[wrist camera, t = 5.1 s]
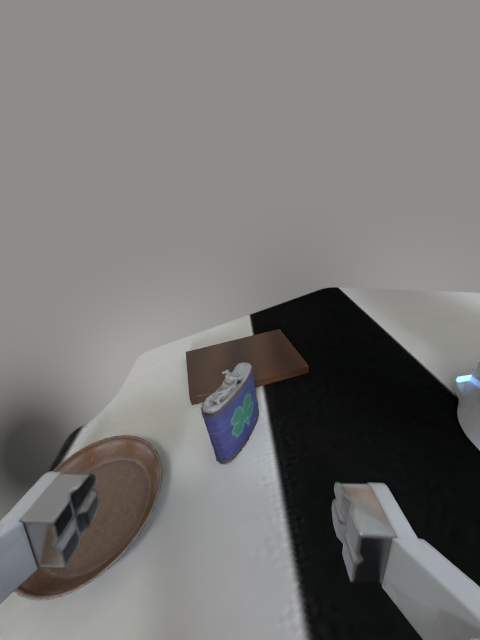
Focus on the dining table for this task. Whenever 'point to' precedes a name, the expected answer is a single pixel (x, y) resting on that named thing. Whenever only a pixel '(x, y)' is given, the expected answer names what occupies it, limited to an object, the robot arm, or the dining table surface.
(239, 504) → the dining table surface
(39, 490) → the robot arm
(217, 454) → the flask
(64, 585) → the saucer
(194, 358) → the cutting board
